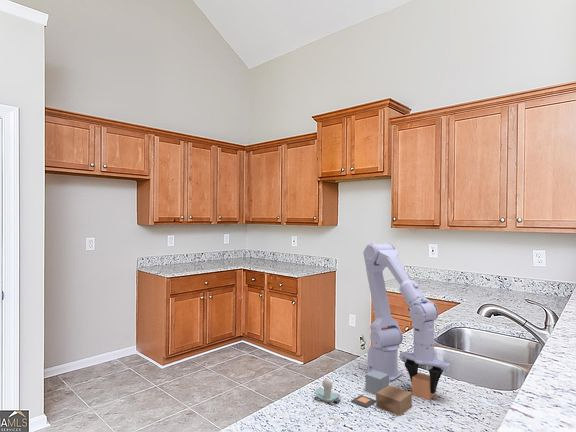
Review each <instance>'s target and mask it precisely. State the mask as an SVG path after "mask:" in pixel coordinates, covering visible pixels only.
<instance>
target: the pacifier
mask: <svg viewBox="0 0 576 432" xmlns="http://www.w3.org/2000/svg"><path fill="white" fill-rule="evenodd" d="M322 387H323V388H316V389H315V391H314V393H315V395H316V397H317V398H319V399H320V400H322V401H323V402H325V403H334V402H338V401H340V400H341V399H342V398H341V393H337V392H333V391H332V389H333V383H332V381H331V380H330V379H329V378H324V379H323V380H322Z"/></svg>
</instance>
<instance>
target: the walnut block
mask: <svg viewBox="0 0 576 432" xmlns="http://www.w3.org/2000/svg"><path fill="white" fill-rule="evenodd" d="M412 397H413V394H412V392H410V391H407V390H404V389H401V388H399V387H395V386H393V385H390V384H389V385H388V386H387V387H385V388H383V389H382V390H380V391H378V392H377V393H376V395H375V400H376V402H375V407H376V408H379V409H381V410H384V411H386V412H388V413H391V414H394V415H396V416H399V417H401V416H402V415H403V414H405V413H406V412H407V411H409V410H410V409H411V408H413V398H412Z"/></svg>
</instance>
